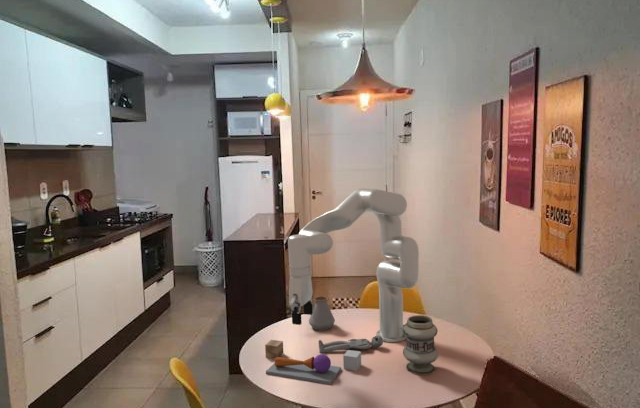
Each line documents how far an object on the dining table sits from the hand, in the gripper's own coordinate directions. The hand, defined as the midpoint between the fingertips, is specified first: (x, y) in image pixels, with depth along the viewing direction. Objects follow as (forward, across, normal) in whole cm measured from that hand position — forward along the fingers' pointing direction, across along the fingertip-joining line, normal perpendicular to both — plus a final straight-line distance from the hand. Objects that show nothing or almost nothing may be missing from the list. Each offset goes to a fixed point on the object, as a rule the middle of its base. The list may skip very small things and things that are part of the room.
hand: (302, 319), depth 161 cm
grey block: (+19, -8, +15) cm, 26 cm away
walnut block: (+19, -8, -16) cm, 26 cm away
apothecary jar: (+20, -14, +38) cm, 45 cm away
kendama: (+18, +1, 0) cm, 18 cm away
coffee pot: (+20, -39, -14) cm, 46 cm away
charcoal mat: (+19, +1, 0) cm, 19 cm away
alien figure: (+20, -23, +10) cm, 32 cm away
